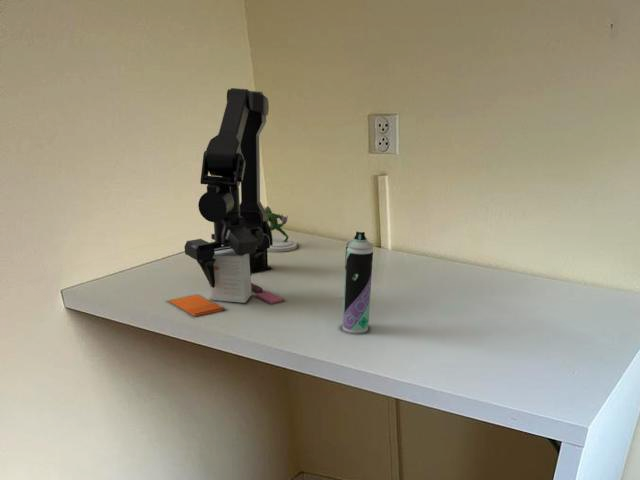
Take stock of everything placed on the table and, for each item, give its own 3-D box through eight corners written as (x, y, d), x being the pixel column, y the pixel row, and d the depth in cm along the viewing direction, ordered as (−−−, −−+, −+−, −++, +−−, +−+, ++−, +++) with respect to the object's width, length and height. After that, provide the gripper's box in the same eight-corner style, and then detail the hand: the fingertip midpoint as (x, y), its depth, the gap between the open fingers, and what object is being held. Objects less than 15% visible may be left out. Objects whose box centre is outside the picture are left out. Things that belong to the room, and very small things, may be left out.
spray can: (349, 335, 141) (354, 236, 129) (338, 325, 145) (341, 229, 133) (372, 331, 143) (379, 234, 132) (360, 322, 147) (366, 227, 135)
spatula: (230, 283, 163) (229, 277, 162) (242, 281, 165) (242, 274, 164) (271, 304, 153) (271, 297, 152) (283, 301, 155) (283, 294, 154)
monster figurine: (274, 237, 199) (273, 200, 193) (305, 246, 194) (305, 208, 188) (245, 245, 191) (244, 207, 185) (277, 254, 186) (277, 215, 180)
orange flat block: (197, 295, 155) (197, 293, 154) (223, 310, 148) (223, 307, 148) (169, 301, 151) (169, 299, 150) (195, 316, 144) (195, 313, 144)
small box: (252, 295, 157) (249, 249, 151) (245, 303, 152) (242, 256, 146) (218, 292, 158) (215, 246, 151) (210, 300, 153) (207, 253, 147)
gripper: (208, 225, 134) (214, 301, 143) (284, 214, 145) (285, 286, 154) (179, 213, 140) (186, 287, 149) (254, 203, 151) (256, 273, 160)
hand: (230, 283), depth 153 cm, fingers closed on small box, 9 cm apart
